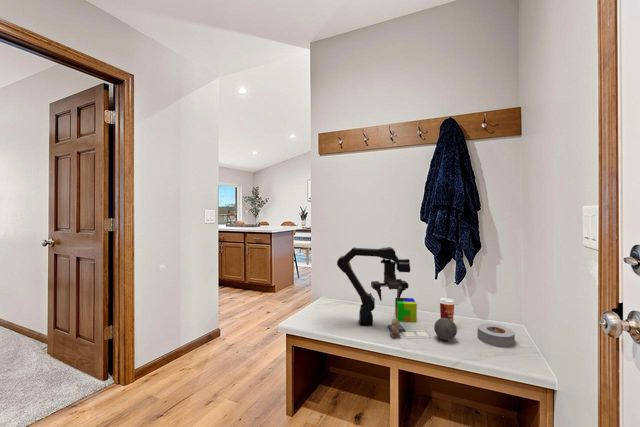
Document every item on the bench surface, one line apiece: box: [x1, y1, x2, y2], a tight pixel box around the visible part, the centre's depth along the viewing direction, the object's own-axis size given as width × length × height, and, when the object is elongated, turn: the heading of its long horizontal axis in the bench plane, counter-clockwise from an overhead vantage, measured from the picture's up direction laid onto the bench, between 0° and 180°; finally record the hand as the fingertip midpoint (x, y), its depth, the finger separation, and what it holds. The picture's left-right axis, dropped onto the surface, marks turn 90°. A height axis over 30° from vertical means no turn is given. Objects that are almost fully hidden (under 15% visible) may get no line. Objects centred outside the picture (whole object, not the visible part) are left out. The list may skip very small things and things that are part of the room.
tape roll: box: [477, 323, 516, 348], centre depth 147 cm, size 15×15×5 cm
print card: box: [400, 329, 433, 339], centre depth 153 cm, size 13×8×1 cm, turn 94°
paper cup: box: [439, 297, 456, 322], centre depth 163 cm, size 8×8×14 cm
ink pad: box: [387, 323, 406, 334], centre depth 159 cm, size 7×7×2 cm
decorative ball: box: [433, 317, 458, 341], centre depth 148 cm, size 10×10×10 cm
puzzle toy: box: [394, 297, 418, 323], centre depth 174 cm, size 10×10×10 cm
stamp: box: [389, 318, 402, 340], centre depth 150 cm, size 4×4×9 cm
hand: (389, 300), depth 164 cm, fingers open, 9 cm apart
